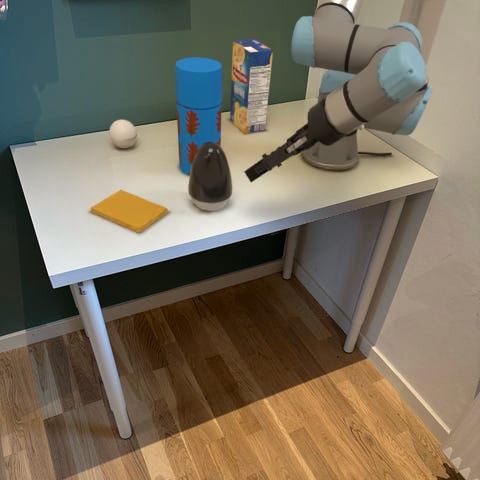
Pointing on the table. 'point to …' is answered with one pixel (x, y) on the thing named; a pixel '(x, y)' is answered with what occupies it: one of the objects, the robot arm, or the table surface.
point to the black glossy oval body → (210, 178)
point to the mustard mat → (129, 210)
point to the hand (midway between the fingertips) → (249, 175)
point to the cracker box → (250, 85)
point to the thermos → (197, 106)
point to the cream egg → (123, 133)
